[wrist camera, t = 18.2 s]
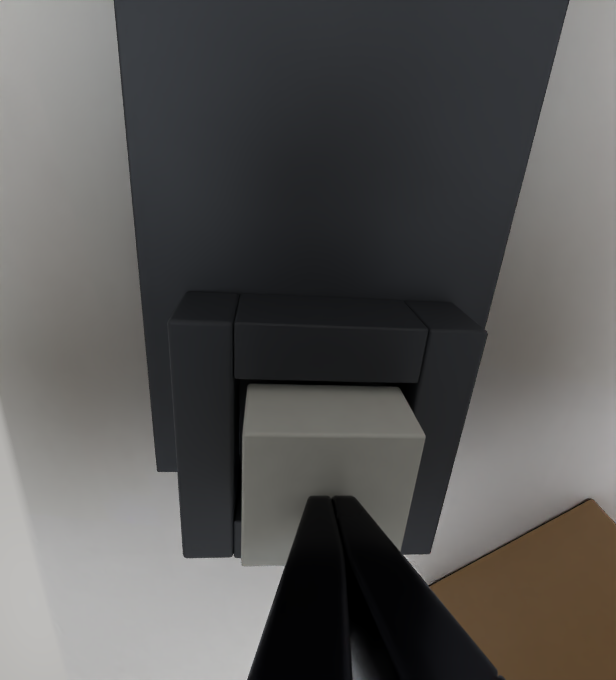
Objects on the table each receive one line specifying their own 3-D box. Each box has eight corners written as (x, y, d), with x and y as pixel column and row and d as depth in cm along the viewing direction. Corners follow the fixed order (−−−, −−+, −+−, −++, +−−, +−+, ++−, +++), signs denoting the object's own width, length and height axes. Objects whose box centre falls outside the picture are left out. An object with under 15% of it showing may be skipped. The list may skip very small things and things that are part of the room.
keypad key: (379, 500, 10) (398, 564, 9) (245, 501, 10) (240, 568, 8) (399, 385, 9) (427, 436, 7) (247, 382, 9) (241, 434, 7)
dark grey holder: (427, 472, 13) (466, 554, 11) (169, 472, 13) (140, 560, 10) (680, -616, 6) (1042, -1296, 3) (70, -793, 5) (-171, -1926, 2)
